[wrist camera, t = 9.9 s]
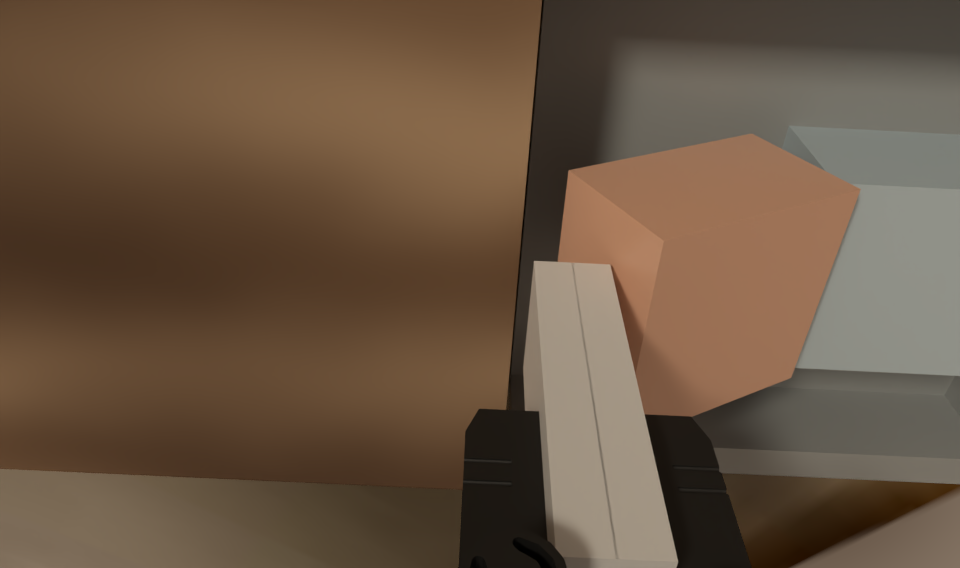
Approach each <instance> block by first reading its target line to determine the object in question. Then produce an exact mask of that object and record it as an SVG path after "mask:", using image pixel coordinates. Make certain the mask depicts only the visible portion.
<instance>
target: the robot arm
mask: <svg viewBox="0 0 960 568" xmlns="http://www.w3.org/2000/svg"><path fill="white" fill-rule="evenodd" d="M523 375H524V398H525V411H520V410H498V409H479V410H478V411H477V413H476V414H475V416H474V418H473V419H472V421H471V423H470V424H469V426H468V428H467V429H466V431H465V449H464V470H463V491H462V512H461V533H460V554H459V567H458V568H751V564H750V561H749V558H748V555H747V552H746V549H745V546H744V542H743V539H742V536H741V533H740V530H739V527H738V524H737V520H736V517H735V514H734V511H733V508H732V505H731V502H730V498H729V495H728V494H726V486H725V483H724V480H723V477H722V473H721V472H719V464H718V461H717V458H716V455H715V451H714V448H713V445H712V442H711V440H710V439H709V437H708V436H707V435H706V434H705V433H704V431H703V430H702V429H701V428H700V427H699V425H698V424H697V423H696V422H695V421H694V419H693V418H692V417H691V416H670V415H648V414H644V410H643V406H642V401H641V397H640V392H639V388H638V384H637V379H636V375H635V371H634V366H633V362H632V357H631V353H630V349H629V344H628V340H627V336H626V331H625V327H624V323H623V318H622V314H621V309H620V305H619V301H618V296H617V292H616V288H615V283H614V279H613V274H612V270H611V266H610V264H590V263H570V262H548V261H534V266H533V276H532V285H531V295H530V305H529V315H528V325H527V335H526V344H525V354H524V364H523Z"/></svg>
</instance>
